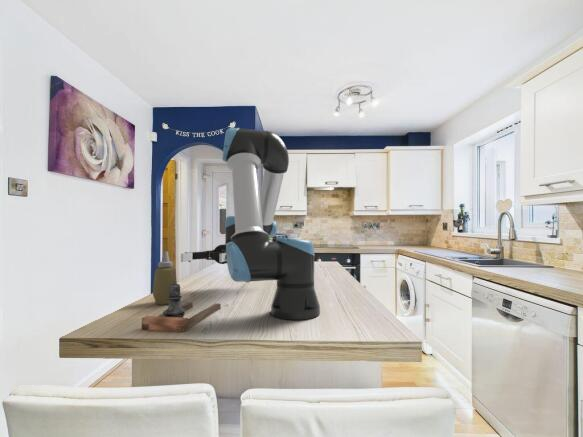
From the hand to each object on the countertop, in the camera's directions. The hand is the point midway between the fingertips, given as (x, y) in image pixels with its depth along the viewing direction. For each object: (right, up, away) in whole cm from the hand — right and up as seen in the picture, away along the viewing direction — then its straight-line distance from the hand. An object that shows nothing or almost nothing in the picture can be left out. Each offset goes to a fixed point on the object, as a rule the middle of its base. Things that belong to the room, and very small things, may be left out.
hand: (200, 257), depth 100 cm
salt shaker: (-2, -16, -17) cm, 23 cm away
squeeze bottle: (-14, -17, +6) cm, 23 cm away
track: (-1, -16, -11) cm, 19 cm away
